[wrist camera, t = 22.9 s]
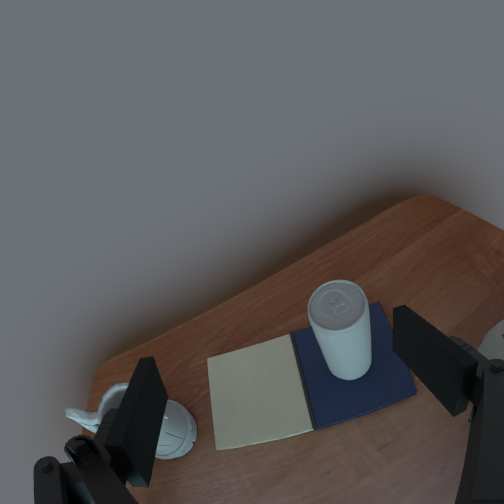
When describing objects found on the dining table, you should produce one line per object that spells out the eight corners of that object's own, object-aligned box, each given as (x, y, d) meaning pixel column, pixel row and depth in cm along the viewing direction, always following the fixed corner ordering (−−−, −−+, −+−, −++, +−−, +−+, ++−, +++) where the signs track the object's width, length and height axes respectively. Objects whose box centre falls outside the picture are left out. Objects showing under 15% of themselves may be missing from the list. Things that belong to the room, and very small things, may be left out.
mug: (204, 455, 30) (137, 435, 21) (125, 466, 31) (54, 444, 22) (195, 398, 35) (134, 359, 27) (123, 415, 36) (57, 382, 28)
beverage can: (351, 333, 33) (338, 267, 25) (381, 360, 30) (381, 301, 22) (319, 361, 32) (293, 305, 24) (347, 391, 29) (333, 345, 21)
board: (379, 304, 35) (378, 300, 34) (416, 393, 26) (417, 391, 26) (209, 360, 38) (206, 357, 38) (218, 450, 30) (215, 449, 29)
